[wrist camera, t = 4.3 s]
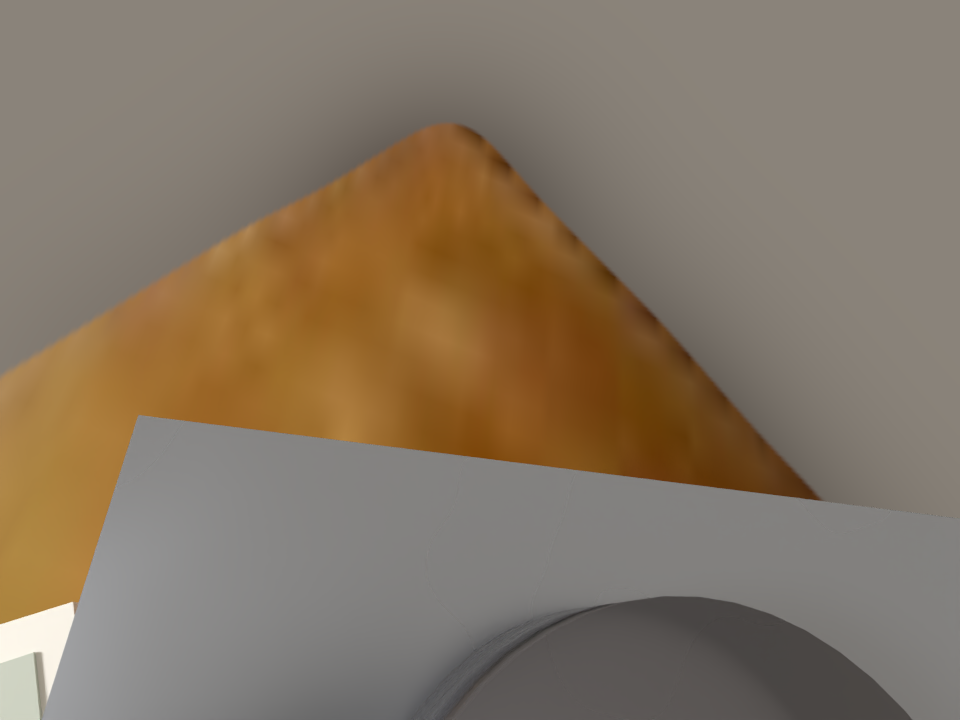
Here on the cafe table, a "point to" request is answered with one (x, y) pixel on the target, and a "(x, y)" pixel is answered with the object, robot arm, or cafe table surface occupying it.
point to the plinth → (31, 660)
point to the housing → (493, 593)
